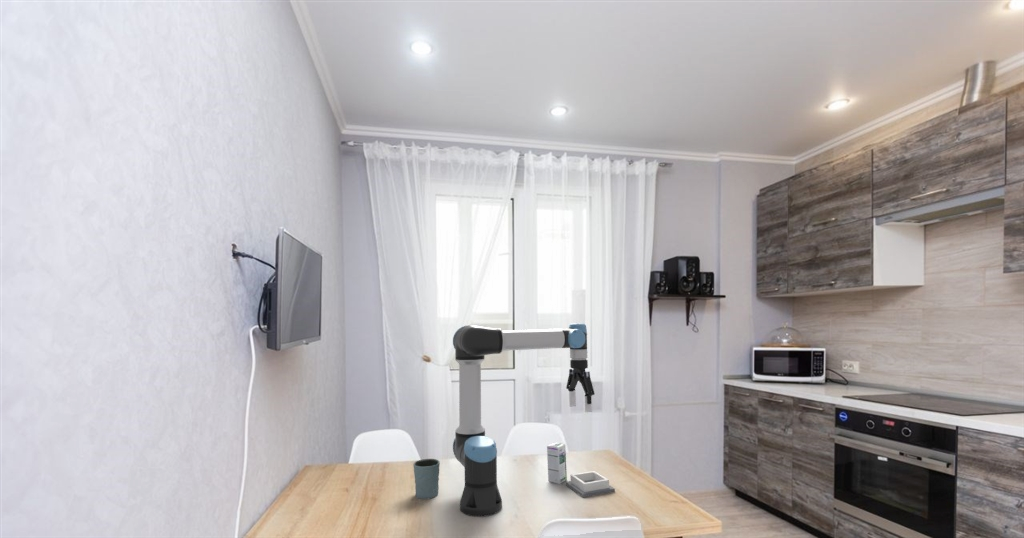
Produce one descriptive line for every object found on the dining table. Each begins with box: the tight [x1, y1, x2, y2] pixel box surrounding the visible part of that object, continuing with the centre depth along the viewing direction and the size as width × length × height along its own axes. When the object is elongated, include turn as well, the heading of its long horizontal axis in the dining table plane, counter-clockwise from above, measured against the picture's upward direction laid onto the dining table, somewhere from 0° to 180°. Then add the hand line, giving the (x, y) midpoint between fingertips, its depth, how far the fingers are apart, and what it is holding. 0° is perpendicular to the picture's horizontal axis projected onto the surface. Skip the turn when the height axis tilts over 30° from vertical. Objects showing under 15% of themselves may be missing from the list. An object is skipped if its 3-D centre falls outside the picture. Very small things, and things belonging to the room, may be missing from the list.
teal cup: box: [413, 458, 441, 500], centre depth 174 cm, size 10×10×12 cm
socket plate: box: [565, 470, 616, 498], centre depth 177 cm, size 14×14×4 cm
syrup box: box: [546, 442, 568, 485], centre depth 187 cm, size 6×6×14 cm
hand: (580, 409), depth 193 cm, fingers open, 13 cm apart
